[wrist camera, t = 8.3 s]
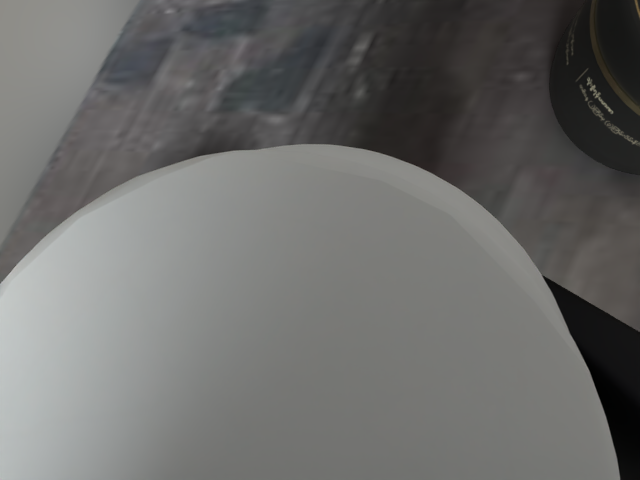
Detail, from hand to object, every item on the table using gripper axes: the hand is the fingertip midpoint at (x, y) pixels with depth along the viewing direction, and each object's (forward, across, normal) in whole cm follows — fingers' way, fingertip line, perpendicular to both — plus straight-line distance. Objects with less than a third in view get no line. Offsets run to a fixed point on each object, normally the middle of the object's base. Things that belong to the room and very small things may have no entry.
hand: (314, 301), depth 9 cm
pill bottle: (+4, 0, +6) cm, 8 cm away
